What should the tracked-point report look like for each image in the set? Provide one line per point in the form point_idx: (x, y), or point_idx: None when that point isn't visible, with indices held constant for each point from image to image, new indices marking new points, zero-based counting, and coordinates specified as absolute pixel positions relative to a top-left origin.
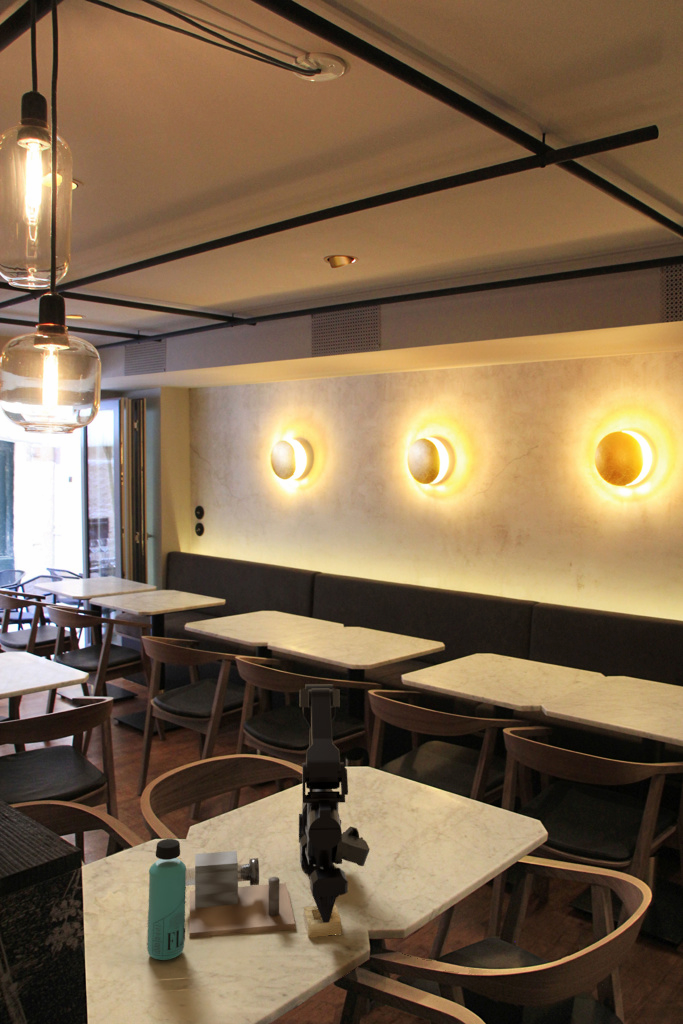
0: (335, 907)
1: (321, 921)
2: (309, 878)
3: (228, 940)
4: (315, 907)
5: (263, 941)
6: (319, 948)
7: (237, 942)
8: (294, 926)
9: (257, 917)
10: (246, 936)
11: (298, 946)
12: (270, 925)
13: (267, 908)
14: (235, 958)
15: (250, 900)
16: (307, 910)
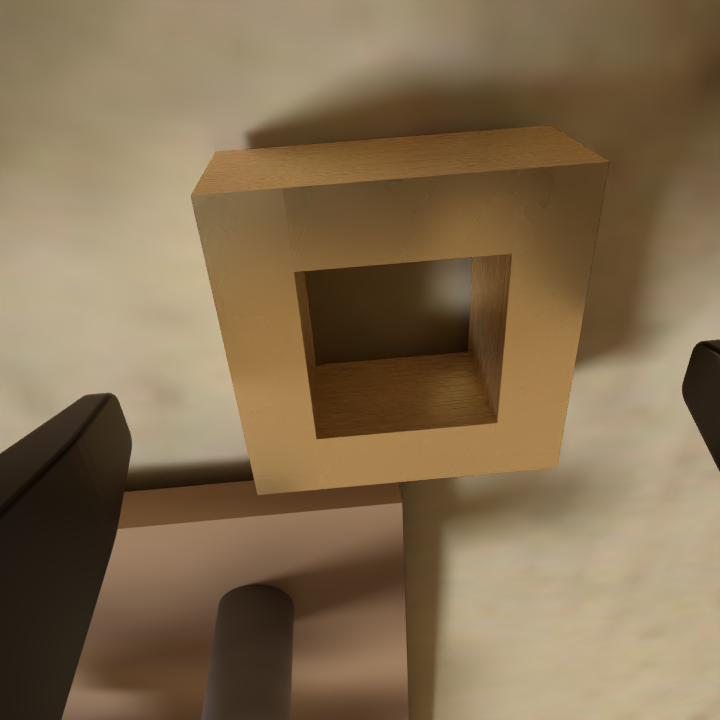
0: (270, 200)
1: (540, 365)
2: (63, 702)
3: (447, 707)
4: (268, 408)
5: (485, 599)
6: (659, 318)
7: (471, 681)
8: (398, 488)
9: (301, 667)
10: (422, 657)
11: (588, 444)
12: (400, 614)
13: (189, 636)
14: (607, 679)
15: (98, 703)
16: (323, 470)
